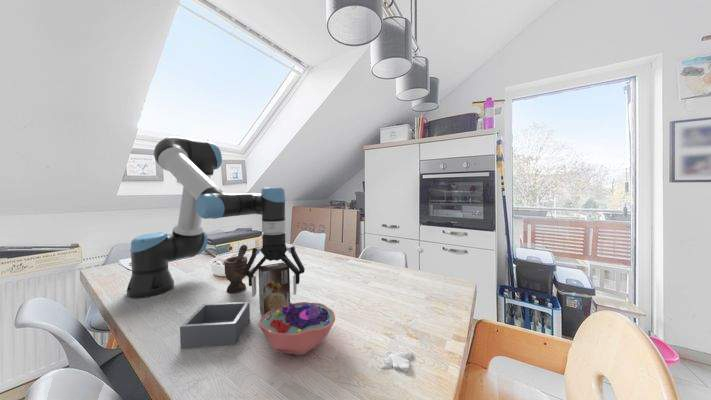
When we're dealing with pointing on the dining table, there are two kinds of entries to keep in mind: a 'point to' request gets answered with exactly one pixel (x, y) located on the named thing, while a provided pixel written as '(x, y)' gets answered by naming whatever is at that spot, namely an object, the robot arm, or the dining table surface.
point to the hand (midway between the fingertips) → (274, 294)
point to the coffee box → (273, 287)
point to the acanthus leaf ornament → (397, 361)
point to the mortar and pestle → (236, 271)
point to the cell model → (297, 327)
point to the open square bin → (215, 325)
